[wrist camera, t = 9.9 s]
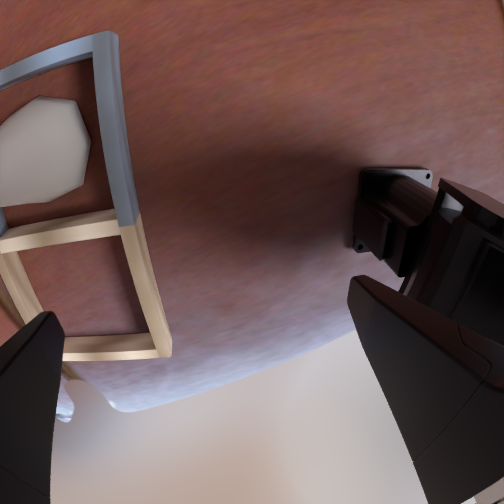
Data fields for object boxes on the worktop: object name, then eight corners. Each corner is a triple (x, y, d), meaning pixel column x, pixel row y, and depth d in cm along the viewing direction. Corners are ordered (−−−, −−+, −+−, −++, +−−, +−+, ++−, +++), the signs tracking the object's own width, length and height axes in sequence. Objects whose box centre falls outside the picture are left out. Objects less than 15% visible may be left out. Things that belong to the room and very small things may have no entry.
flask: (99, 195, 18) (31, 285, 9) (13, 205, 17) (-68, 285, 8) (90, 84, 14) (-7, 91, 6) (0, 107, 13) (-105, 141, 5)
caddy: (118, 35, 13) (109, 29, 11) (172, 339, 25) (171, 356, 23) (-29, 92, 12) (-45, 95, 10) (53, 345, 23) (47, 360, 22)
